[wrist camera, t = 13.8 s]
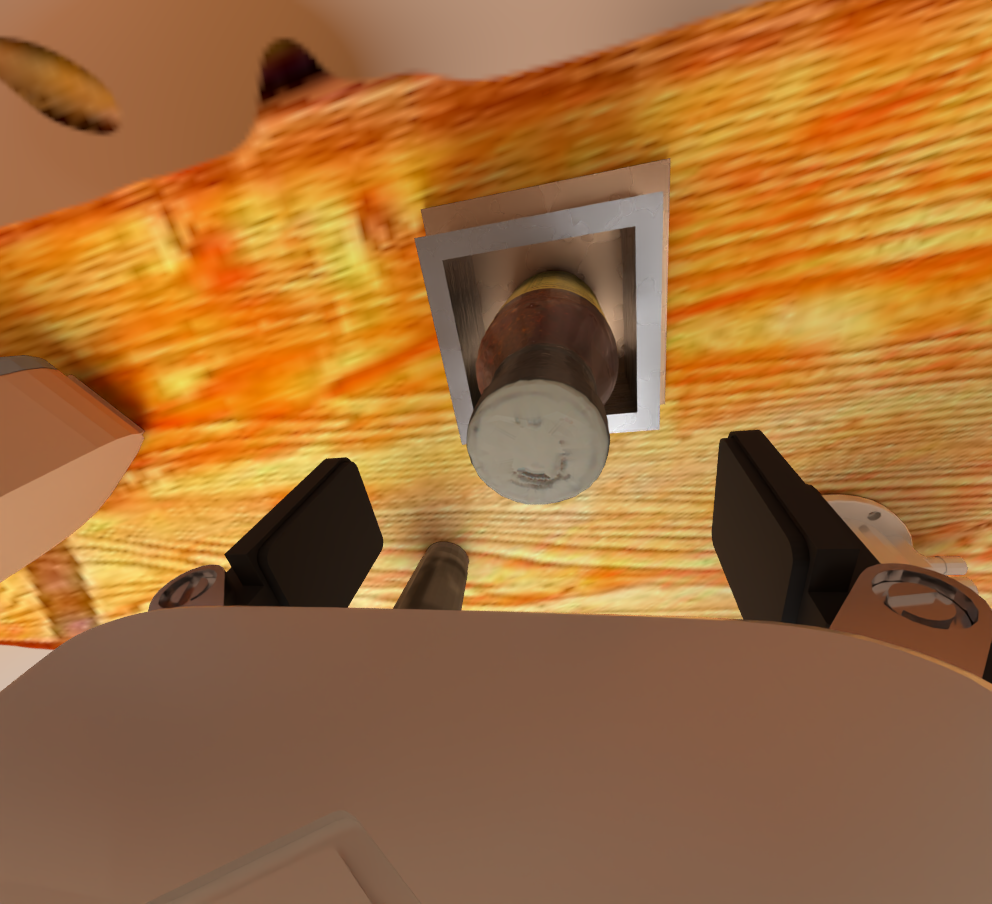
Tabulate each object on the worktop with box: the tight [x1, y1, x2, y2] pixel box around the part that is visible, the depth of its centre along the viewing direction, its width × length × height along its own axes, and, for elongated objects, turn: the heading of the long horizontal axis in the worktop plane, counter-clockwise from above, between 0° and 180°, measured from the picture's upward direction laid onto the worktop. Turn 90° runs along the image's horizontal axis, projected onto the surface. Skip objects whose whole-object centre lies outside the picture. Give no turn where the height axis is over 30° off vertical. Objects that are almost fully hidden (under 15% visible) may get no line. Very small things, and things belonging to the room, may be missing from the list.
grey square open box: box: [414, 158, 670, 445], centre depth 26 cm, size 15×15×8 cm
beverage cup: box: [393, 542, 469, 610], centre depth 35 cm, size 7×7×20 cm
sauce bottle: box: [467, 271, 619, 504], centre depth 20 cm, size 7×6×20 cm
